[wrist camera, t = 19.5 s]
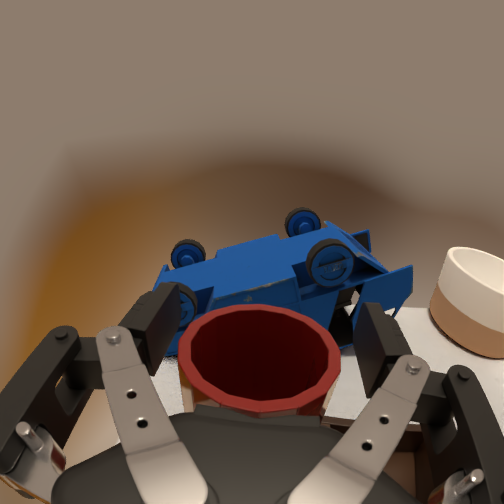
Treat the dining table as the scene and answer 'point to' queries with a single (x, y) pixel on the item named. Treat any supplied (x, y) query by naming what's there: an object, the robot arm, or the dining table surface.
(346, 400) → the dining table surface
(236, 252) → the toy vehicle
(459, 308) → the bowl
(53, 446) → the robot arm
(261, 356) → the tumbler
